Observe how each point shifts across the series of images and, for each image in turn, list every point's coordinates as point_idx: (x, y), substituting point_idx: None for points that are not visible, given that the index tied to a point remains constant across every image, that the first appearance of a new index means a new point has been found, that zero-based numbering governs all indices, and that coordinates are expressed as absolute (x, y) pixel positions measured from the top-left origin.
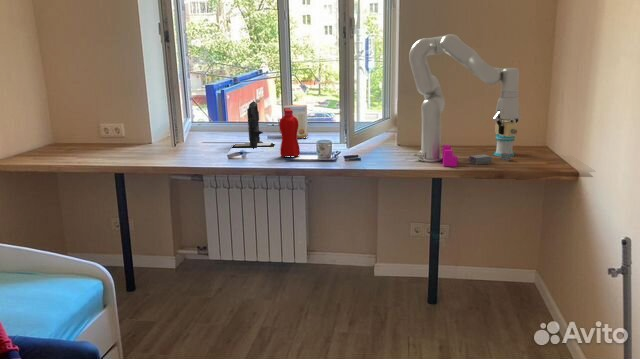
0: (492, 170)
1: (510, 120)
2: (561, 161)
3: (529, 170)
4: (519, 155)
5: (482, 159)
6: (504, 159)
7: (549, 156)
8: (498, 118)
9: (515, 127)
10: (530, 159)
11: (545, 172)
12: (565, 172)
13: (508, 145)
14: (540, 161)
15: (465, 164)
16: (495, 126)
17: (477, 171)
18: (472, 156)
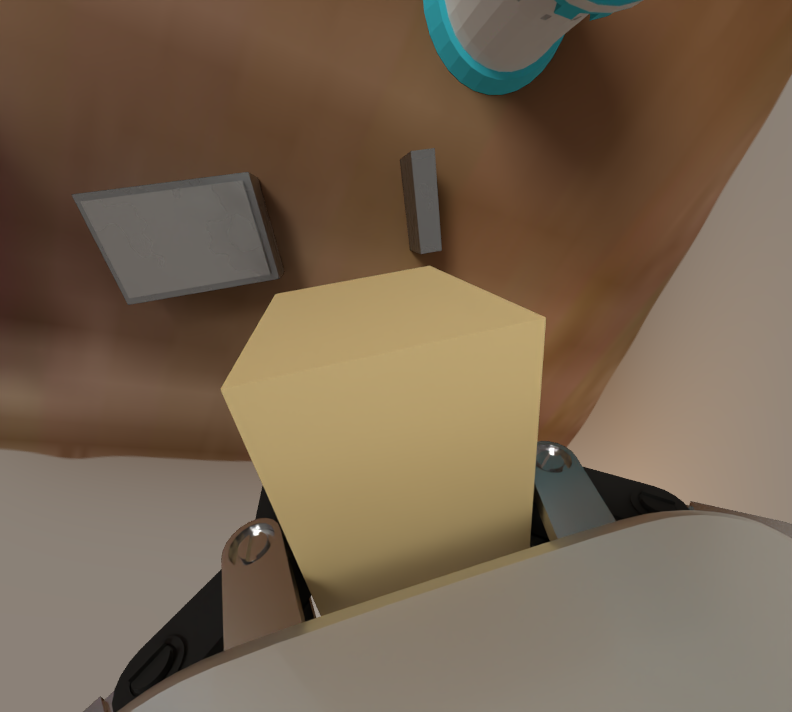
0: (230, 435)
1: (548, 535)
2: (642, 315)
3: None
4: (577, 81)
5: (197, 291)
6: (405, 205)
7: (692, 184)
8: (213, 676)
9: None
10: (554, 232)
11: None
12: None
13: (546, 27)
14: (565, 294)
15: (68, 264)
16: (259, 335)
17: (134, 446)
18: (101, 237)
